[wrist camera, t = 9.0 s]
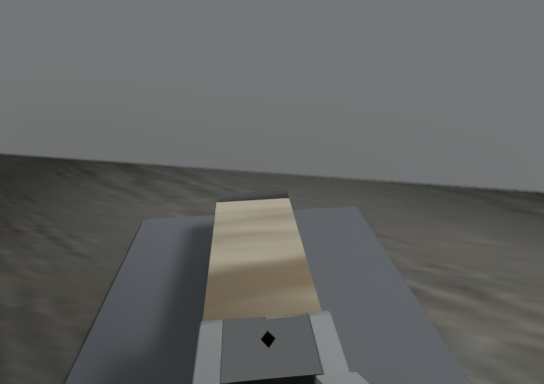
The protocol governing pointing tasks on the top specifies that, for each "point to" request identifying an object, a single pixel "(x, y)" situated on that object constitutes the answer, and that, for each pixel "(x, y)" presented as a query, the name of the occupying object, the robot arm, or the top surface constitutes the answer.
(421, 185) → the top surface
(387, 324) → the mat
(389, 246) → the top surface
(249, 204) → the wooden block
